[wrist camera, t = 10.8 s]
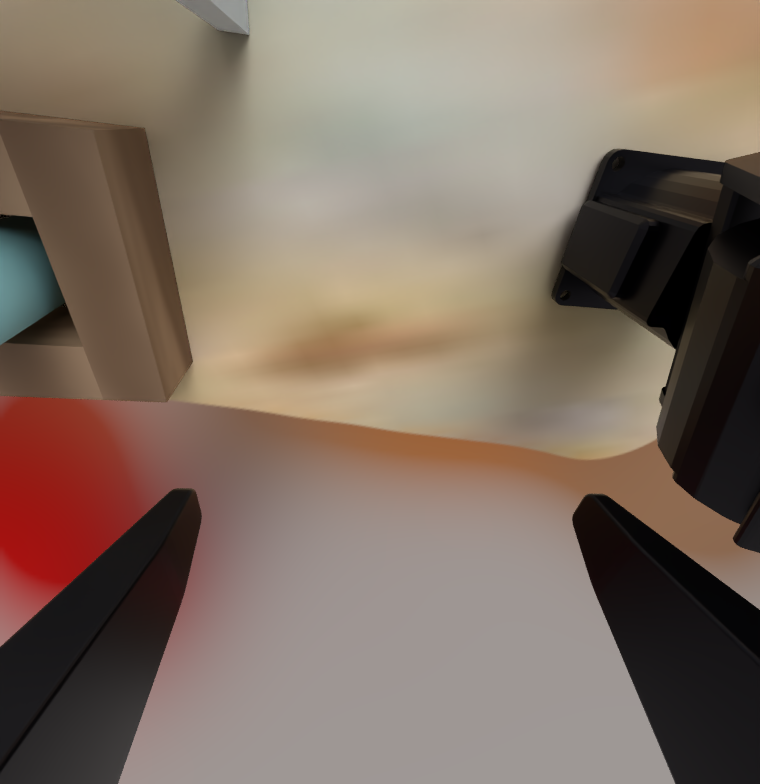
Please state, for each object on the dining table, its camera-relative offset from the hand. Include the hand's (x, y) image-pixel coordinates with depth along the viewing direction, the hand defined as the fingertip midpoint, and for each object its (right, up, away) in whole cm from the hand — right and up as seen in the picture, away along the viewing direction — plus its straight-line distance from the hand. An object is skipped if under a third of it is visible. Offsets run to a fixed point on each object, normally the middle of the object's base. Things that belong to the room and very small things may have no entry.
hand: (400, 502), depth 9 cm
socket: (-15, +8, +7) cm, 18 cm away
